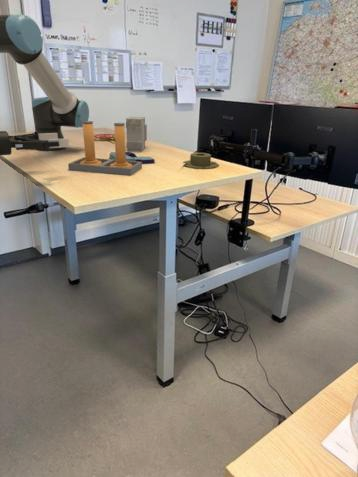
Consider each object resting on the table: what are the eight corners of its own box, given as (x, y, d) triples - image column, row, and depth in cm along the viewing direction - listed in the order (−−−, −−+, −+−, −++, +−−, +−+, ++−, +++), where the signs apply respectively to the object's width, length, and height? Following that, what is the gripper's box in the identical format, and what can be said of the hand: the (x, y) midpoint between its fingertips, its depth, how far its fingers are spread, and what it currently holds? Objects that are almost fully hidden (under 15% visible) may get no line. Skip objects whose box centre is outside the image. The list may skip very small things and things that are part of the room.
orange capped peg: (106, 171, 129) (104, 124, 122) (115, 166, 136) (113, 121, 129) (127, 173, 127) (126, 125, 120) (135, 168, 134) (134, 122, 127)
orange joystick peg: (76, 169, 131) (71, 122, 124) (86, 164, 138) (82, 119, 131) (96, 170, 130) (93, 123, 123) (105, 166, 137) (102, 121, 130)
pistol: (158, 167, 145) (124, 170, 138) (141, 159, 157) (108, 162, 149) (158, 157, 143) (123, 159, 136) (141, 150, 155) (108, 152, 148)
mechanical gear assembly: (111, 136, 212) (87, 138, 206) (111, 129, 210) (86, 131, 204) (130, 144, 188) (103, 147, 182) (130, 136, 187) (102, 139, 180)
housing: (69, 173, 130) (68, 163, 129) (84, 166, 141) (83, 157, 139) (131, 178, 126) (130, 169, 124) (141, 171, 136) (141, 161, 135)
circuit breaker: (147, 146, 183) (147, 116, 177) (142, 152, 170) (141, 119, 164) (133, 146, 184) (132, 115, 177) (126, 151, 171) (125, 118, 164)
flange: (213, 151, 155) (179, 151, 152) (223, 158, 141) (186, 158, 139) (212, 161, 157) (179, 162, 154) (222, 169, 143) (186, 170, 141)
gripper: (-7, 148, 125) (54, 144, 136) (4, 163, 106) (74, 157, 117) (-11, 126, 122) (52, 124, 133) (-1, 137, 103) (72, 133, 114)
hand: (62, 139), depth 125 cm, fingers open, 13 cm apart
